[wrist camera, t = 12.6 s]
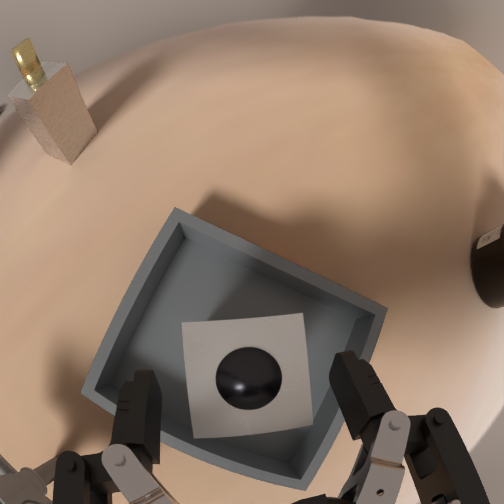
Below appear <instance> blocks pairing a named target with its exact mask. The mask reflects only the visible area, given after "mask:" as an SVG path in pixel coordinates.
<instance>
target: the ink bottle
mask: <svg viewBox="0 0 504 504" xmlns="http://www.w3.org/2000/svg"><path fill="white" fill-rule="evenodd" d="M472 272H473V278H474V282H475V286H476V289H477V292H478V294H479V296H480V297H481V299H482V300H483V302H484V303H485V304H487V305H488V306H489V307H492V308H500V307H504V224H502V225H500V226H498V227H496V228H495V229H493V230H491V231H489V232H487V233H485V234H484V235H482V236H480V237H479V238H478V239H477V240H476V241H475V243H474V245H473V249H472Z"/></svg>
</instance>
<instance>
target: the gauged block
mask: <svg viewBox="0 0 504 504" xmlns="http://www.w3.org/2000/svg"><path fill="white" fill-rule="evenodd" d="M11 54H12V56H13V58H14V60H15V62H16V64H17V66H18V68H19V70H20V72H21V74H22V76H23V78H24V79H23V80H22V81H20V83H18V84H17V86H16V87H15V88H14V89H13V90H12V91H11V92H10V93H9V94H8V97H9V99H10V101H11V102H12V104H13V105H14V107H15V109H16V110H17V112H18V113H19V115H20V116H21V118H22V119H23V121H24V122H25V124H26V125H27V127H28V128H29V130H30V131H31V133H32V134H33V135H34V137H35V138H36V140H37V141H38V142H39V144H40V145H41V147H42V148H43V149H44V151H45V152H46V153H47V154H48V155H50V156H52V157H54V158H56V159H58V160H61V161H63V162H65V163H67V164H69V165H71V164H72V163H73V162H74V161H75V159H76V158H77V157H78V155H79V154H80V153H81V152H82V150H83V149H84V148H85V147H86V145H87V144H88V143H89V142H90V140H91V139H92V138H93V137H94V136H95V135H96V133H97V132H98V131H97V129H96V127H95V125H94V123H93V121H92V118H91V116H90V114H89V112H88V110H87V107H86V105H85V103H84V100H83V98H82V96H81V94H80V91H79V89H78V86H77V84H76V82H75V79H74V77H73V74H72V72H71V69H70V67H69V64H68V63H64V62H45V61H42V62H41V63H40V61H39V59H38V57H37V55H36V52H35V50H34V47H33V45H32V43H31V40H30V38H28V39H25V40H23V41H21V42H20V43H19V44H17V45H16V46H15V47H14V48H13V49H12V50H11Z"/></svg>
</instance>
